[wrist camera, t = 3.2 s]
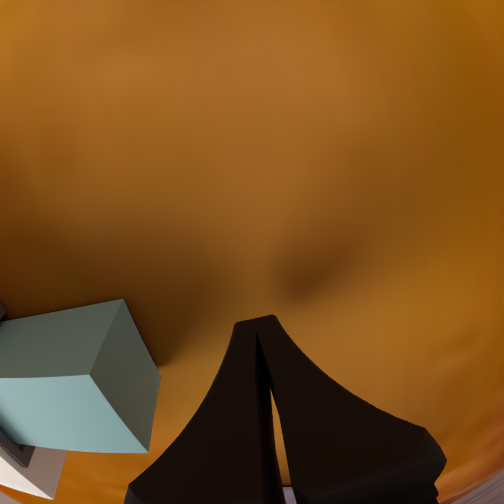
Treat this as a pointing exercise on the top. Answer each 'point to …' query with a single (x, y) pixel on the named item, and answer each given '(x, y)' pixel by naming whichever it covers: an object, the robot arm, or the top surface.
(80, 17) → the top surface
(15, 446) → the socket block
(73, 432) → the peg
